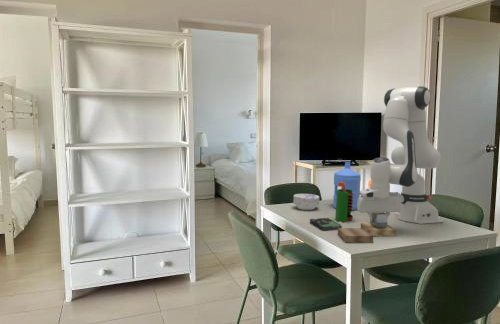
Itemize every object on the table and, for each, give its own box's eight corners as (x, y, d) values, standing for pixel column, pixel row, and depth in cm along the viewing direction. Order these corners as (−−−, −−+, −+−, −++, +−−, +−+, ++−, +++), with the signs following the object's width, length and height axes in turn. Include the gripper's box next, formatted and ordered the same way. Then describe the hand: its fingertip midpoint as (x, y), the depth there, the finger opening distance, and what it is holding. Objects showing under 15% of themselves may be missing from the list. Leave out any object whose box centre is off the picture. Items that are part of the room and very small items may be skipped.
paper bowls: (318, 206, 233) (318, 193, 232) (319, 212, 218) (320, 198, 217) (293, 205, 234) (293, 192, 233) (293, 211, 219) (293, 197, 218)
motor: (353, 222, 195) (354, 184, 193) (335, 221, 197) (336, 183, 195) (351, 217, 205) (353, 181, 203) (335, 216, 207) (336, 180, 205)
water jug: (357, 205, 236) (359, 160, 233) (361, 211, 221) (363, 163, 218) (332, 204, 238) (333, 160, 235) (333, 210, 223) (335, 162, 220)
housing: (380, 222, 183) (380, 210, 182) (387, 227, 175) (387, 214, 174) (370, 222, 182) (370, 210, 182) (376, 227, 175) (377, 214, 174)
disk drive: (309, 224, 194) (323, 232, 180) (309, 219, 194) (323, 226, 180) (327, 222, 197) (342, 230, 183) (327, 217, 197) (342, 224, 183)
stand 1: (363, 234, 175) (363, 228, 175) (372, 242, 163) (373, 235, 163) (337, 234, 175) (337, 228, 174) (345, 242, 163) (345, 236, 162)
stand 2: (384, 228, 185) (384, 222, 185) (395, 236, 173) (395, 229, 173) (360, 228, 184) (360, 222, 184) (369, 236, 173) (370, 229, 172)
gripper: (398, 190, 181) (397, 218, 182) (356, 191, 179) (355, 219, 181) (404, 193, 174) (403, 222, 176) (361, 194, 173) (360, 223, 175)
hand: (378, 221), depth 178 cm, fingers closed on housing, 5 cm apart
